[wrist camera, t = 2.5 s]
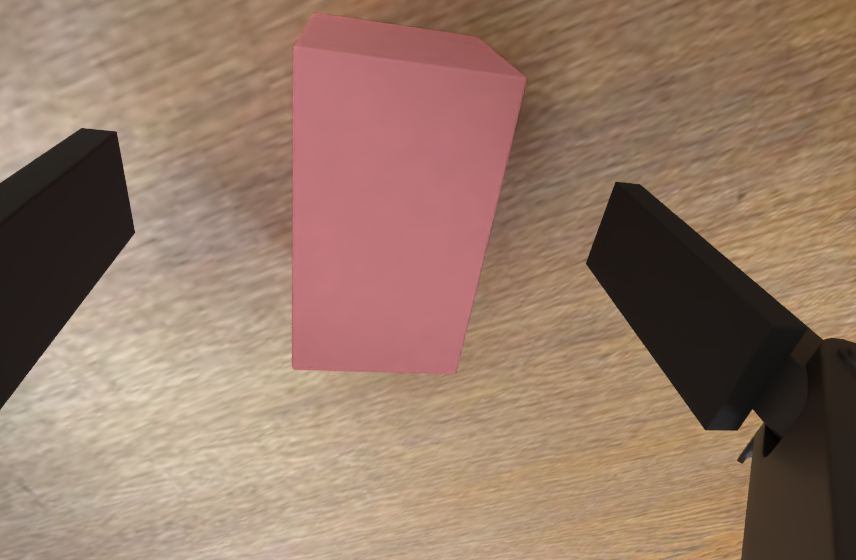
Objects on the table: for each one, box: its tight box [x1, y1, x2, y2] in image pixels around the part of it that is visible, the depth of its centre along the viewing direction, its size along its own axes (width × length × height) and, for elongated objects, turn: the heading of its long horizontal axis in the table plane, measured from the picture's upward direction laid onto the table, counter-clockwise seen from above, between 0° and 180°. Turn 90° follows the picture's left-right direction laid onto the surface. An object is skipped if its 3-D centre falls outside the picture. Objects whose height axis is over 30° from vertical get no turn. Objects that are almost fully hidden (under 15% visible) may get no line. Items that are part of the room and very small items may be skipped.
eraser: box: [292, 13, 527, 374], centre depth 14 cm, size 8×4×5 cm, turn 172°
